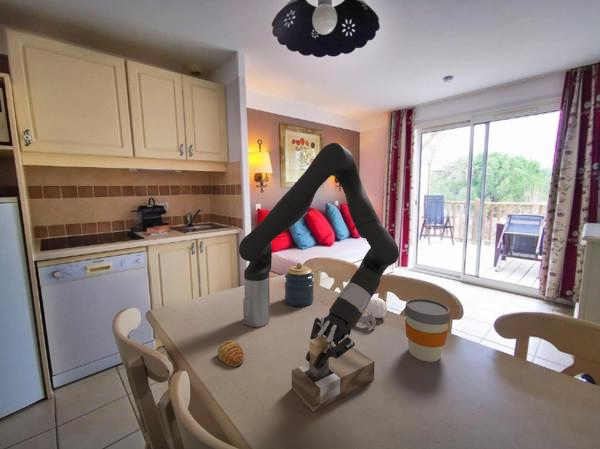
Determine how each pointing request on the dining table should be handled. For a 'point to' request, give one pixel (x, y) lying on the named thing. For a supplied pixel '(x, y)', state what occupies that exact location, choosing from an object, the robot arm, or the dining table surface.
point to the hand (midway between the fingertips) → (312, 364)
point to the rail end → (315, 350)
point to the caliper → (365, 319)
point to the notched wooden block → (333, 379)
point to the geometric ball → (377, 307)
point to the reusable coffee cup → (426, 328)
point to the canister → (299, 286)
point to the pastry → (231, 353)
